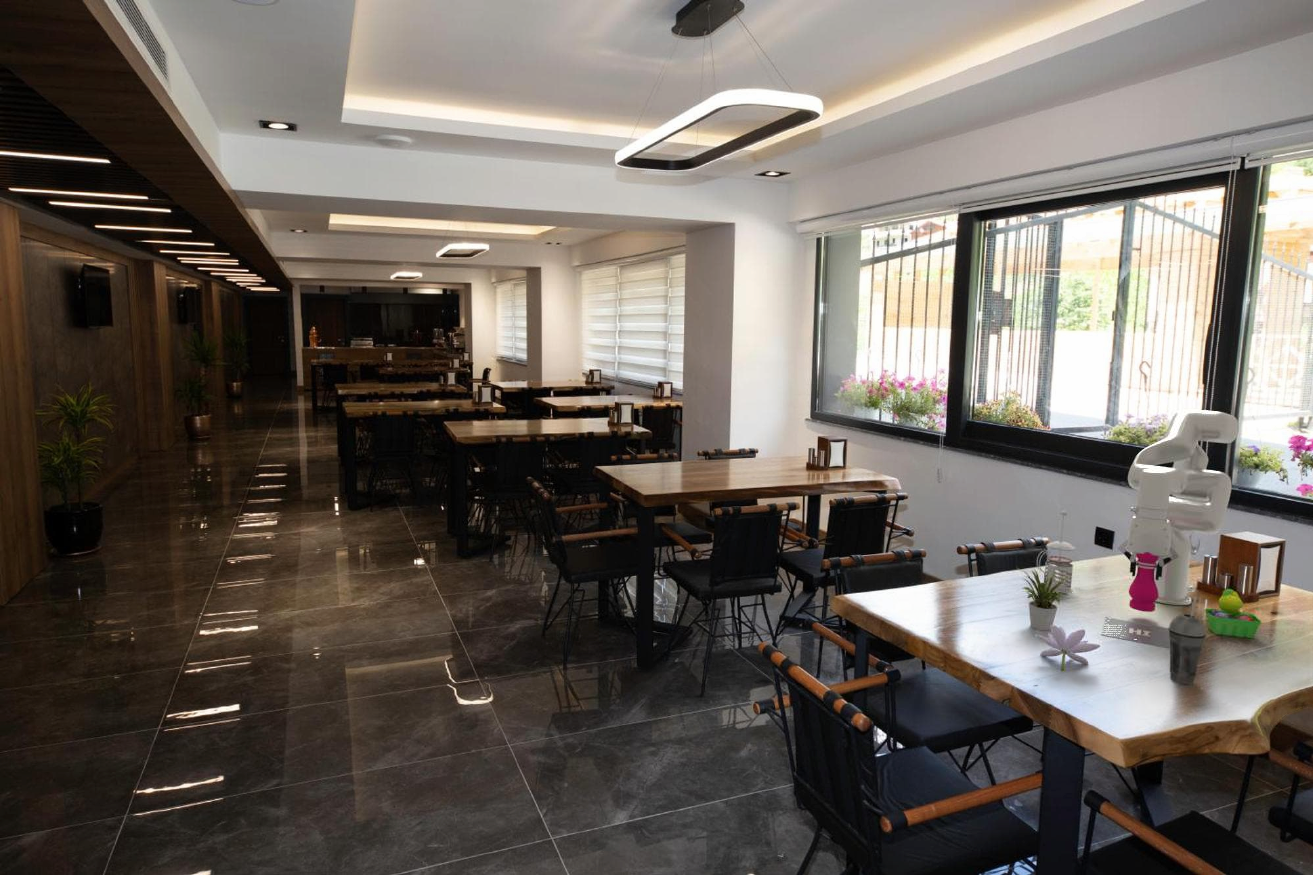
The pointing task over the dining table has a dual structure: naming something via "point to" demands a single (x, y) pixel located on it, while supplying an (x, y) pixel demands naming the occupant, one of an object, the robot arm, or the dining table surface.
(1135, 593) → the pepper mill
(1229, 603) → the fruit basket
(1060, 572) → the french press
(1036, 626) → the house plant
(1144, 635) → the tile
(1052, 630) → the water lily
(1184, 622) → the beverage cup
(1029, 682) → the dining table surface
